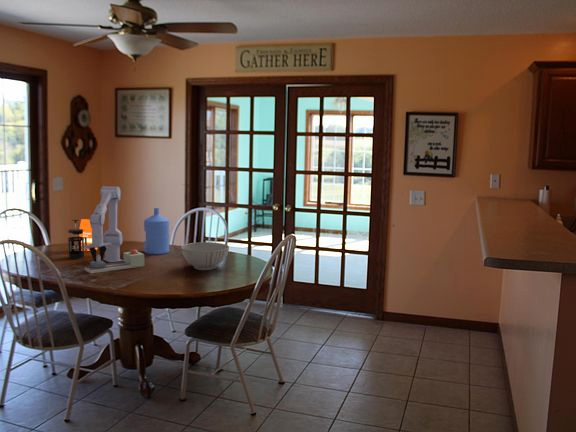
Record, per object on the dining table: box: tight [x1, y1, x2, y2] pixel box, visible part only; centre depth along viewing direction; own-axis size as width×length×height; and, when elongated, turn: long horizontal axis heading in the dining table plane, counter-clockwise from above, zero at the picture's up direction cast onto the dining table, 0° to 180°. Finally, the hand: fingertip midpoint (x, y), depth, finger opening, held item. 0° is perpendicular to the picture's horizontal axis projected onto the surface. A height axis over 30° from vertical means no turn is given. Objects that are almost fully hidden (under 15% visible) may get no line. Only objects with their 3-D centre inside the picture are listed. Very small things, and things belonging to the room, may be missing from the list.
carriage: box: [89, 254, 107, 268], centre depth 306 cm, size 7×6×6 cm
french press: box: [67, 218, 88, 260], centre depth 336 cm, size 12×9×23 cm
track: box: [84, 251, 145, 274], centre depth 313 cm, size 10×30×7 cm, turn 130°
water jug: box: [143, 207, 170, 255], centre depth 356 cm, size 16×16×28 cm
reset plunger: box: [129, 248, 138, 254], centre depth 319 cm, size 4×4×4 cm
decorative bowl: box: [180, 241, 230, 271], centre depth 319 cm, size 27×27×12 cm
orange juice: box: [78, 218, 99, 251], centre depth 356 cm, size 8×9×20 cm
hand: (98, 260), depth 306 cm, fingers closed on carriage, 3 cm apart
